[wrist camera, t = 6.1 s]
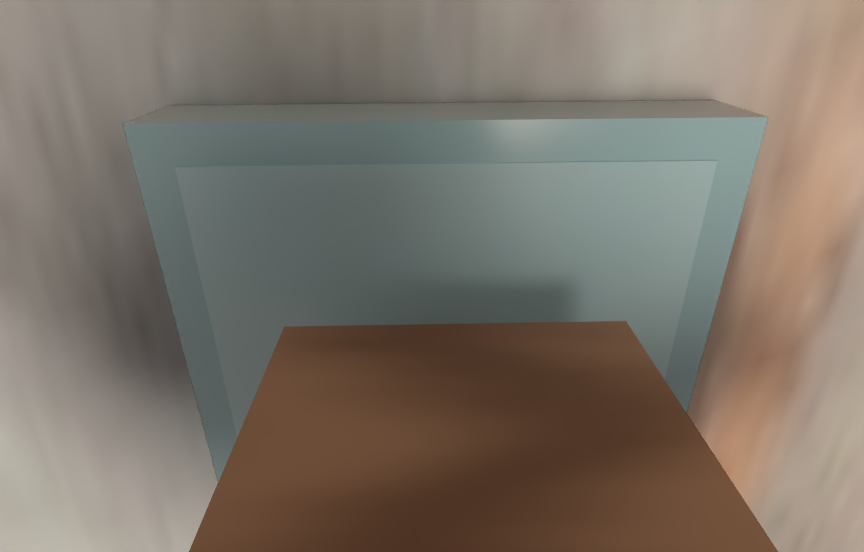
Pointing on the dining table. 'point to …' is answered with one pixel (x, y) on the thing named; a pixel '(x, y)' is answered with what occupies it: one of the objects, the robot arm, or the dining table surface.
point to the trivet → (437, 224)
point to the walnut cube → (471, 447)
